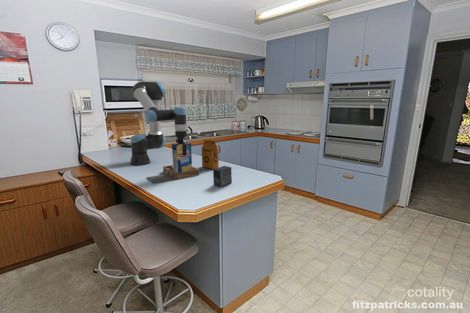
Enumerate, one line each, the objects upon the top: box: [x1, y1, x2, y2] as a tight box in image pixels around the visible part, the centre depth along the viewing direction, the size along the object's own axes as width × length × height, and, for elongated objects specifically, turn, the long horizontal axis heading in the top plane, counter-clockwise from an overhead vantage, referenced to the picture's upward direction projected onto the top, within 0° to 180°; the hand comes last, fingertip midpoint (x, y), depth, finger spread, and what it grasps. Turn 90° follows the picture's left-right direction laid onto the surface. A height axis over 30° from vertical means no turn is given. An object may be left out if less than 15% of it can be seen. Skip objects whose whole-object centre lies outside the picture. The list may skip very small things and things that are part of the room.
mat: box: [146, 173, 176, 185], centre depth 165 cm, size 14×14×1 cm
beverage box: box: [171, 141, 193, 173], centre depth 172 cm, size 7×11×22 cm, turn 131°
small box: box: [212, 165, 233, 188], centre depth 154 cm, size 11×6×10 cm, turn 141°
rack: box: [162, 164, 200, 181], centre depth 177 cm, size 22×17×4 cm
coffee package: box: [201, 138, 220, 170], centre depth 190 cm, size 10×12×22 cm
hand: (182, 164), depth 173 cm, fingers open, 2 cm apart
